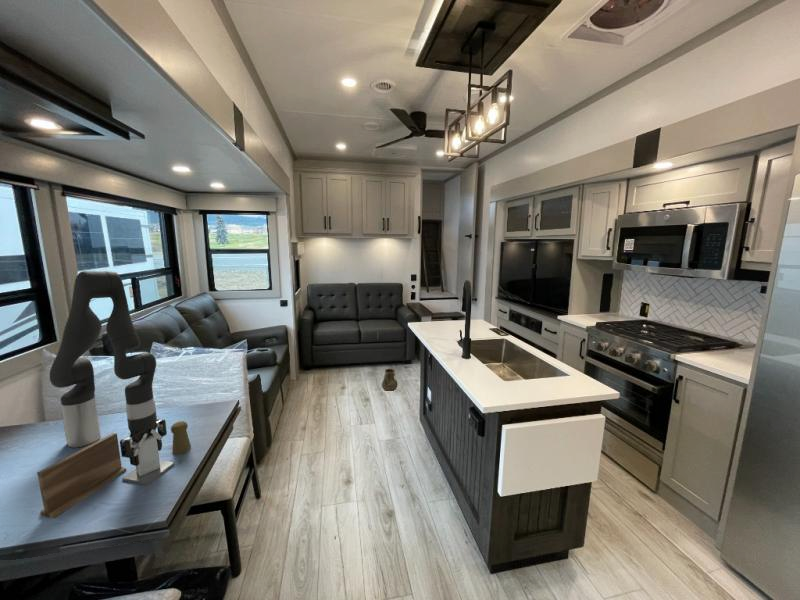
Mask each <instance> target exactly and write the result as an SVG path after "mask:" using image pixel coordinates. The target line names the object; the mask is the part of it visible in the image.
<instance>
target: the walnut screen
mask: <svg viewBox="0 0 800 600" xmlns="http://www.w3.org/2000/svg"><path fill="white" fill-rule="evenodd" d="M123 472H124V473H125V472H127V468H126V467H122V459H121V451H120V444H119V439H118V433H115V432H113V433H110V434H108V435H107V436H105V437H103V438H100V439H98V440H97V441H95V442H93V443H91V444H88V445H86V446H84V447H83V448H82V449H79V450H78V451H76V452H74V453H72V454H70V455H68V456H66V457H65V458H63V459H60V460H59V461H57V462H54V463H52V464H51V465H49V466H47V467H45V468H43V469H41V470H39V471H37V478H38V479H37V480H38V484H39V489H40V494H41V500H42V505H43V509H42V510H41V511H40V516H42V517H46V518H51V519H55V518H58V516H61V515H62V514H64V513H65V512H66V511H68V510H70V509H71V508H72V507H74V506H76V505H77V504H79V503H80V502H81V501H83V500H85V499H86V498H87V497H89V496H91V495H92V494H93V493H96V491H98V490H99V489H101V488H103V487H104V486H106V484H109V483H110V482H112V481H113V480H115V479H116V478H118V477H119V476H121V475H122V474H123ZM121 473H122V474H121ZM120 474H121V475H120ZM118 475H119V476H118ZM117 476H118V477H117ZM115 477H116V478H115ZM114 478H115V479H114ZM112 479H113V480H112ZM111 480H112V481H111ZM108 482H109V483H108Z"/></svg>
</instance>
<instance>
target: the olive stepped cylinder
mask: <svg viewBox="0 0 800 600" xmlns="http://www.w3.org/2000/svg"><path fill="white" fill-rule="evenodd" d="M187 429H188V422H186V421H178V422H176V423H173V424H172V425H171V426H170V432H171V433H172V448H171V449H172V450H171V451H172V452H171V453H172V454H174V455H181V454H184V453H186V452H188V451H189V450H190V449H191V447H192V446H191V445H192V444H191V442H190V438H189V435H188V431H187Z"/></svg>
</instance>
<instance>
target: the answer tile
mask: <svg viewBox="0 0 800 600" xmlns="http://www.w3.org/2000/svg"><path fill="white" fill-rule="evenodd" d="M159 461H160V468H159V469H156V470H154V471H152V472H149V473H147V474H144V475H142V476H139V475H138V473H137V471H136V468H135V469H134V470H132V471H130V472H129V473H128V474H126V475H124V476H123V477H122V478H121V480H125V481H124V482H127V481H130V482H129V483H132V482H134V483H135V484H138V485H144V486H149V485H150V484H151V483H152V482H154V481H156V480H157V479H158V478H159V477H160V476H162V475H163V474H164V473H166V472H167V471H168V470H170V469H171V468H172V467H174V466H175V462H171V461H168V460H167V461H166V460H160V459H159ZM134 483H133V484H134Z"/></svg>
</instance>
